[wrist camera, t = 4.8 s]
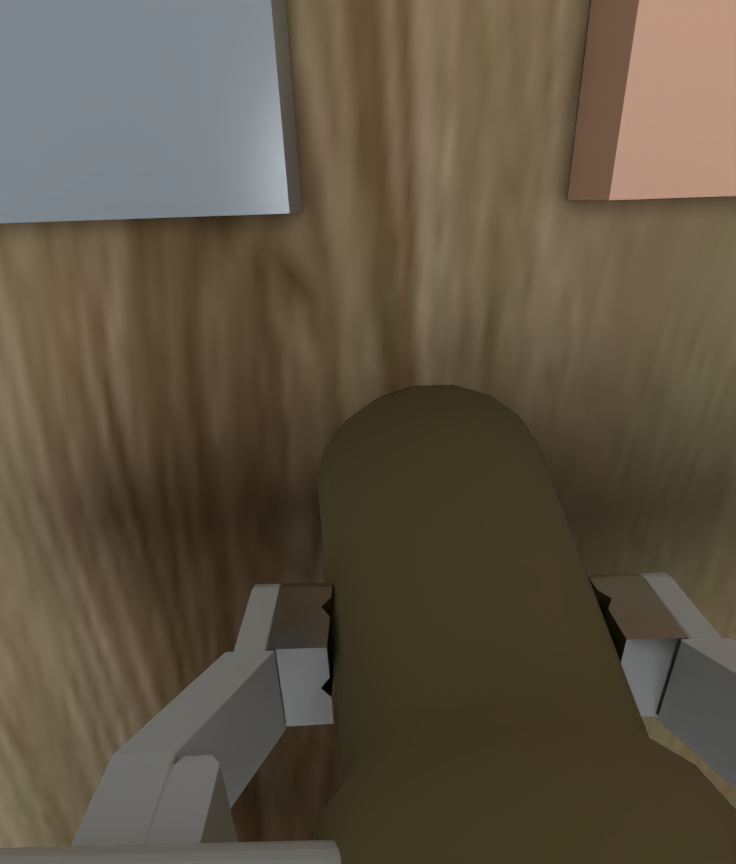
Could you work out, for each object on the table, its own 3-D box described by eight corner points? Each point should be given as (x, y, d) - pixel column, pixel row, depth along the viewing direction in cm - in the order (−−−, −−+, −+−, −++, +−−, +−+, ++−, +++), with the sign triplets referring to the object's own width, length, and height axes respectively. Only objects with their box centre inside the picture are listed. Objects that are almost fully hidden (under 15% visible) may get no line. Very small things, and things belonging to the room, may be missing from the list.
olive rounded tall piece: (491, 340, 12) (1165, 1099, 2) (576, 528, 14) (1093, 1336, 4) (272, 451, 13) (-28, 1282, 3) (383, 609, 15) (418, 1390, 5)
